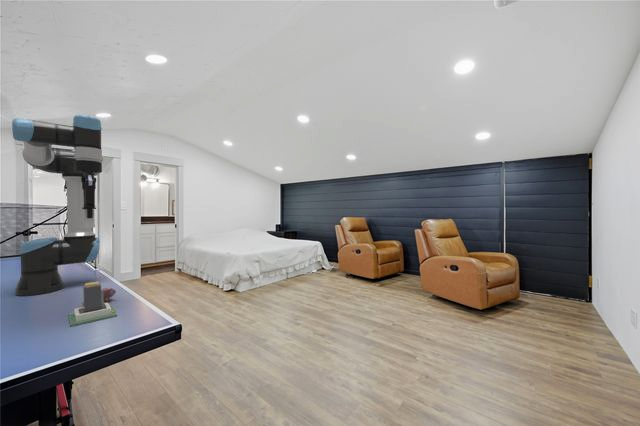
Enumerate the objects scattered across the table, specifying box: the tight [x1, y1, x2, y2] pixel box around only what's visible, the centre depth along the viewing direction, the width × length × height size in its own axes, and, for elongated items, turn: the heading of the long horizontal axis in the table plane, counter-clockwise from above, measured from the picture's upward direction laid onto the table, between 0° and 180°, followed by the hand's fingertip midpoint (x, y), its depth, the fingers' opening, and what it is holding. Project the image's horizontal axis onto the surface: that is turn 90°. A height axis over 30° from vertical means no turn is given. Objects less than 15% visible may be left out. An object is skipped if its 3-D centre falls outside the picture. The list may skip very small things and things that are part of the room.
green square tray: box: [68, 301, 118, 328], centre depth 96 cm, size 12×12×3 cm
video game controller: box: [82, 287, 117, 307], centre depth 108 cm, size 10×5×7 cm, turn 169°
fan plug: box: [82, 280, 105, 313], centre depth 96 cm, size 4×5×11 cm
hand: (89, 227), depth 98 cm, fingers closed
